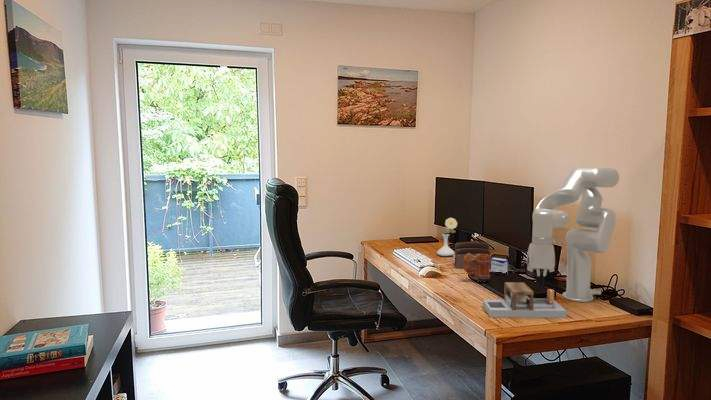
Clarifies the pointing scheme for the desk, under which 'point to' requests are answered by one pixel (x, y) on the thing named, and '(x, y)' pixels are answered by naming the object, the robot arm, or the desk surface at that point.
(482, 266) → the mug
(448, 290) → the desk surface
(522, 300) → the block
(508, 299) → the sled
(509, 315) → the track deck
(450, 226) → the flower in vase
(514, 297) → the tunnel
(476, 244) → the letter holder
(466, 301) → the desk surface
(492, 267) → the box
